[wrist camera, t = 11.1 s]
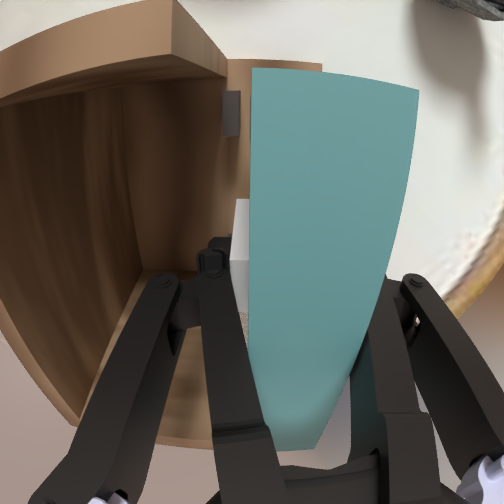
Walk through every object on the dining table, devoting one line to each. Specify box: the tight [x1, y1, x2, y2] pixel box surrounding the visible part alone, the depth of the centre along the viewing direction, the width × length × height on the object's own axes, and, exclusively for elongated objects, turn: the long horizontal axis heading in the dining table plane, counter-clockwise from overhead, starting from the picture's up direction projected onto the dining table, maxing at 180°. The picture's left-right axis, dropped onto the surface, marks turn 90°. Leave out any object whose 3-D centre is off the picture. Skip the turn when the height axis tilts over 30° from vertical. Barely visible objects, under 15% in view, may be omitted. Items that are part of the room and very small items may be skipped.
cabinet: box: [0, 0, 322, 450], centre depth 17 cm, size 17×20×18 cm
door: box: [248, 68, 419, 451], centre depth 14 cm, size 5×16×12 cm, turn 179°
